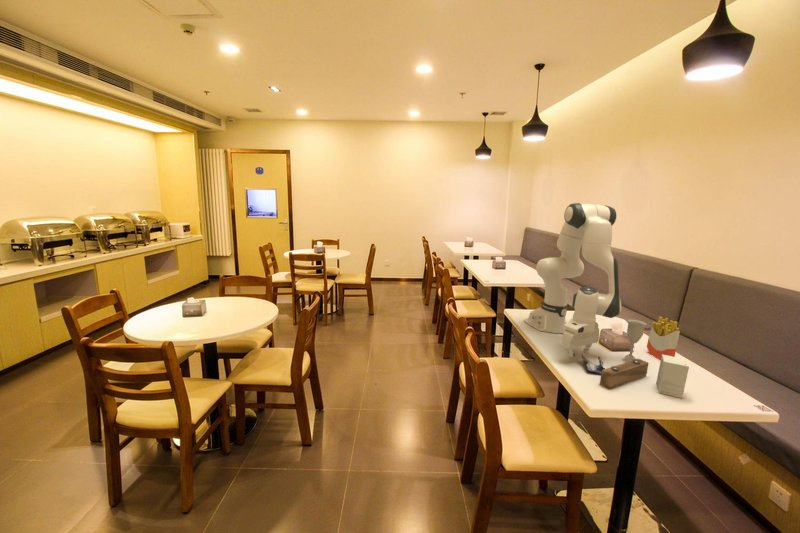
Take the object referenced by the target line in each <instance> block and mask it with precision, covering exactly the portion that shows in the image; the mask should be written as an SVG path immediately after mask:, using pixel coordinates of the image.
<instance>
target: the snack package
mask: <svg viewBox="0 0 800 533" xmlns="http://www.w3.org/2000/svg"><path fill="white" fill-rule="evenodd" d="M580 355H581V358H582V361H583V363H584V365H585V367H586V370H587V373H592V372H593V373H596V374H597V375H598V376H601V373H602V370H603V369H606V368H605V367H604V362H603V359H602V357H601V356H598V357H597V359H598V360H599V362H598V363H599V364H595V363H593V362H592V361H590V360H589V359H587V357H585V356H584V354H582V353H581V354H580ZM591 365H593V368H592V367H591Z"/></svg>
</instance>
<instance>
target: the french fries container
mask: <svg viewBox="0 0 800 533" xmlns="http://www.w3.org/2000/svg"><path fill="white" fill-rule="evenodd" d="M657 319H658V320H657V321H652V324H651V328H650V331H649V336H648V338H647V343H646V348H647V351H648V352H649V353H648V354H650V355H651V356H652V355H653V357H654V358H656V359H658V360H660V361H661V357H662V354H663V355H667V356H672V357H676V352H677V348H678V342H679V339H680V338H679V337H680V333H681V331H680V328H679V327H678V324H679V322H678V321H673V320H672V319H671V320H669V318H668V317H662V316H658V318H657ZM668 321H669V322H668Z"/></svg>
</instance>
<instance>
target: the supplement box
mask: <svg viewBox="0 0 800 533" xmlns="http://www.w3.org/2000/svg"><path fill="white" fill-rule="evenodd" d="M689 369H690V367H689V364H688V362H687V360H686V359H685V358H682V357H677V356H675V357H672V356H667V355H663V354H662V357H661V360H660V362H659V368H658V372H657V377H656V383H655V385H656V387H657V388H656V389H657V391H658V392H657V393H659V394H664V395H667V396H671V397H675V398H679V399H683V395H684V392H685V387H686V383H687V378H688V374H689Z"/></svg>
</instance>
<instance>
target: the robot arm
mask: <svg viewBox="0 0 800 533" xmlns="http://www.w3.org/2000/svg"><path fill="white" fill-rule="evenodd" d="M563 215H564V219H563V220H564V223H563V225H562V227H561V230H560V233H559V235H558V238H557V241H556V247H557V249H558V250H559V251H560V252H561V254H560V256H559V257H557V256H556V257H551V256H549V257H545V258H541V259H539V260H538V261H537V263H536V266H535V268H536V269H535V271H536V272H537V275H538V276H539V277H540V278H541V279H542V281H543V283H544V289H545V291H544V299H543V301H540V302H539V305H540V307H538V308H536V309H533V310H532V311H530V313H529V315H528V317H526V318H524V320H523V322H524V323H525V324H527V325H529V326H531V327H532V328H534V329H536V330H538V331H540V332H545V333H546V332H547V333H553V334H562V336H561V345H562V347H563V348H565V349H567V350H568V356H569V357H571V358H574V357H575V354H576V352H574V351H575V349H576V348H580V347H583V346H584V348H583V349H582V352H583V353H584V354H588V353H589V352H590V349H591V348H592V345H593V344H595V343H598V342H599V339H600V329H599V324H598V322H596V321H597V318H596V315H598V316H602V317H605V318H608V319H612V318H615V317H617V316H619V315H620V313H621V311H622V301H621V300H622V299H621V296H620V274H619V273H620V272H619V262H618V260H617V258H616V257H614V256H613V253H612V250H611V249H612V248H611V247H612V240H613V228H612V227H613V225H614V224H615V223H616V221H617V220H616V219H617V211H616V209H615V208H614V207H611V206H609V205H602V204H597V203H580V202H575V203H570V204H569V205H568V206H566V209H565V211H564V214H563ZM580 250H581V251H580ZM580 252H581V255H582V257H583V258H584V260H585V261H586V262H588V263H590V264H591V265H593V266H596V267H598V268H600V269H601V270H602V271H604V272H605V273H606V274H607V276H608V278H607V279H608V280H607V281H608V293H600V292H599V290H598V289H597V288H595V287H592V286H582V287H579V288H578V290H577V292H575V293H574V294H573V300H572V308H573V310H574V313H573V314H572V318H571V319H569V321H567V322H566V315H567V312H568V297H569V290H568V288H566V286H564V285H563V282H562V279H573V278H577V277H580V276H582V274H583V273H584V271H585V265H584V263H583V261H582V260H581V258H580V256H581V255H580Z"/></svg>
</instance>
